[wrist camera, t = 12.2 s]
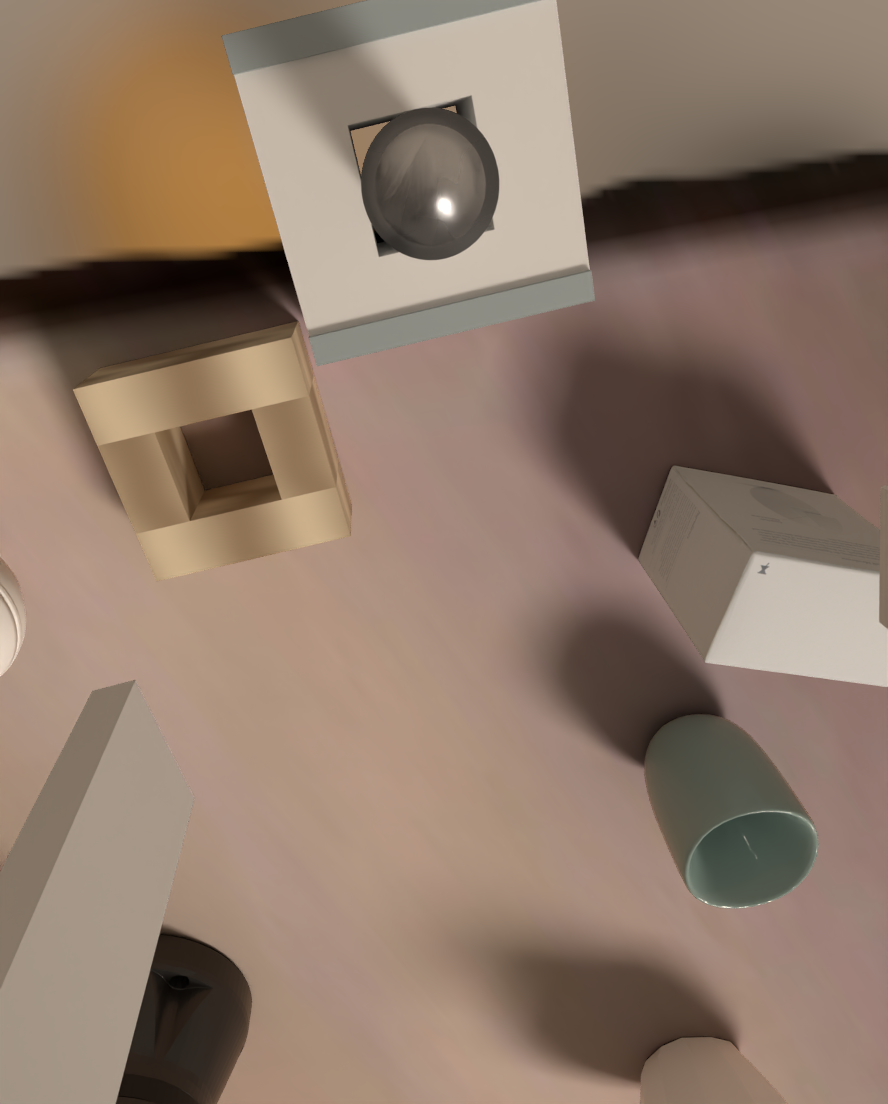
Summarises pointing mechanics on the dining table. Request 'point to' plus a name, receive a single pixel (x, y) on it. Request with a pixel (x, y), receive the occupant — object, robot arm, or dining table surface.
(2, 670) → the spinning top
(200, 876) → the dining table surface
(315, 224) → the socket
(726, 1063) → the vase
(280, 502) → the mount
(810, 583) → the skincare box
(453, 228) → the pin
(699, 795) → the cup
